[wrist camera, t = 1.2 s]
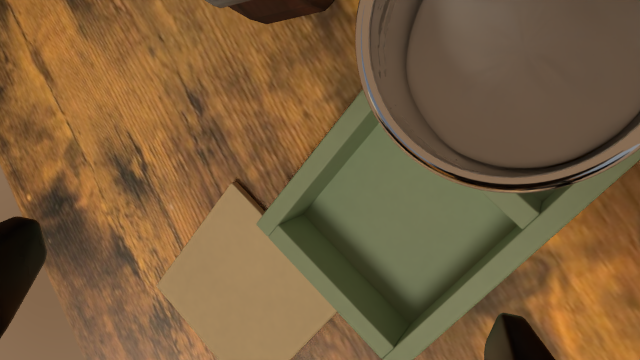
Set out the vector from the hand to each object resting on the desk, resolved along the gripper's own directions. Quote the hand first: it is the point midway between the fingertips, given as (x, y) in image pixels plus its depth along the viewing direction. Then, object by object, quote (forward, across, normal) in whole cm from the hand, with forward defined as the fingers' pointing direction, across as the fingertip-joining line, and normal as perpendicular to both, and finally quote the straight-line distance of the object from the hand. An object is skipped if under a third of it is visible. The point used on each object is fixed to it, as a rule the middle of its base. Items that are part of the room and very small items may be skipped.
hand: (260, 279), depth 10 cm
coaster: (+15, +4, +18) cm, 24 cm away
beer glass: (+17, -9, +1) cm, 19 cm away
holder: (+16, -7, +5) cm, 18 cm away
